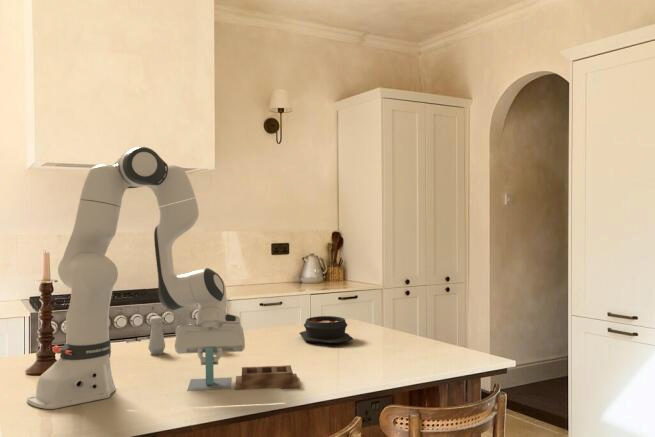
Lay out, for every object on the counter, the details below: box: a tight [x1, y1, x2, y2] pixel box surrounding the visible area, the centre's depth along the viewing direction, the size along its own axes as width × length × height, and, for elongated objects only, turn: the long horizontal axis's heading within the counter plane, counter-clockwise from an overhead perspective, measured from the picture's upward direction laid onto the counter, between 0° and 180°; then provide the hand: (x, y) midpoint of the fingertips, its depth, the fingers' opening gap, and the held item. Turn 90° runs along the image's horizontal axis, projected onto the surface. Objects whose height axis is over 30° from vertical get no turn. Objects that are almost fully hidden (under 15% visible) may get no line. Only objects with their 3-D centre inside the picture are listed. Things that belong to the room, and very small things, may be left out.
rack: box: [234, 364, 301, 391], centre depth 177 cm, size 18×12×4 cm, turn 98°
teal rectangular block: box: [204, 347, 215, 385], centre depth 176 cm, size 2×4×10 cm, turn 7°
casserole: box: [298, 315, 354, 345], centre depth 235 cm, size 25×19×8 cm
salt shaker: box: [148, 315, 166, 356], centre depth 216 cm, size 6×6×13 cm
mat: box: [186, 376, 233, 392], centre depth 176 cm, size 12×12×1 cm
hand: (209, 363), depth 175 cm, fingers closed on teal rectangular block, 2 cm apart
